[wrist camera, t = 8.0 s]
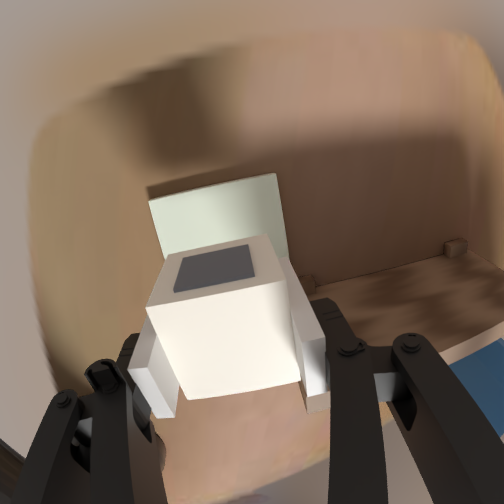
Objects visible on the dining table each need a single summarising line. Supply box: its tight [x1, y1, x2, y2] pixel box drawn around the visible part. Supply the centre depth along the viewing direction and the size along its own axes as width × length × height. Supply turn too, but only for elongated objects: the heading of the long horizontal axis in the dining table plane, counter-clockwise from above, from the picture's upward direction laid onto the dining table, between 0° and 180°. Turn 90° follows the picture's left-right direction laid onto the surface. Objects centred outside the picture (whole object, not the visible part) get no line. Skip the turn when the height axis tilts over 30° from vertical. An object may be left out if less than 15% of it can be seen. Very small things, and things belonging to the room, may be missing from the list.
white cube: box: [145, 234, 301, 400], centre depth 13 cm, size 5×5×5 cm
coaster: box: [148, 173, 290, 261], centre depth 22 cm, size 9×9×1 cm
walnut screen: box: [298, 238, 504, 414], centre depth 20 cm, size 20×4×11 cm, turn 100°
